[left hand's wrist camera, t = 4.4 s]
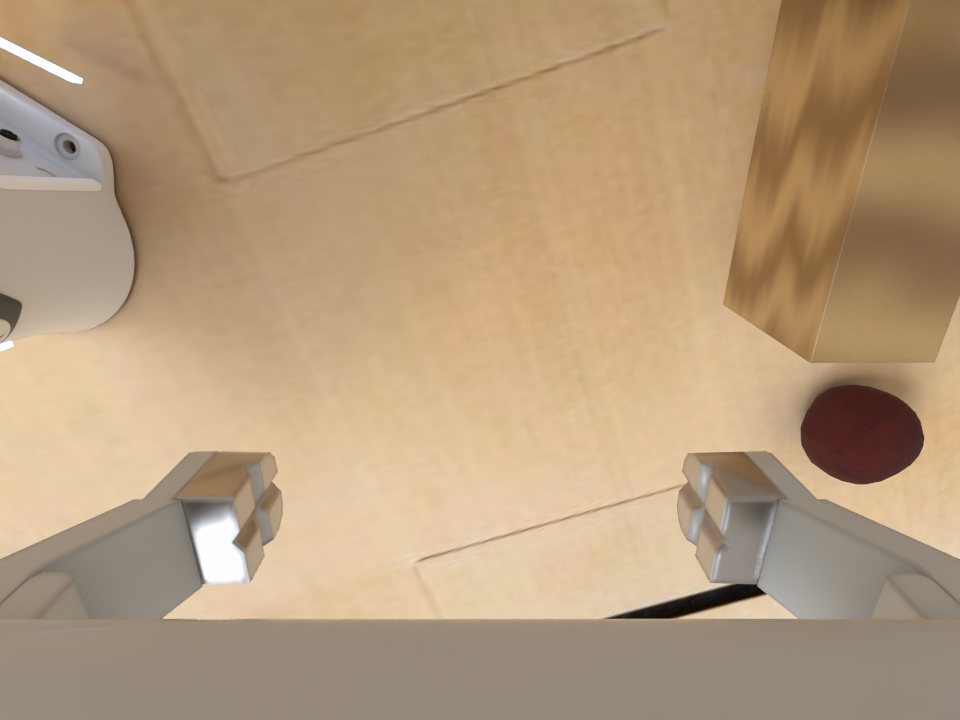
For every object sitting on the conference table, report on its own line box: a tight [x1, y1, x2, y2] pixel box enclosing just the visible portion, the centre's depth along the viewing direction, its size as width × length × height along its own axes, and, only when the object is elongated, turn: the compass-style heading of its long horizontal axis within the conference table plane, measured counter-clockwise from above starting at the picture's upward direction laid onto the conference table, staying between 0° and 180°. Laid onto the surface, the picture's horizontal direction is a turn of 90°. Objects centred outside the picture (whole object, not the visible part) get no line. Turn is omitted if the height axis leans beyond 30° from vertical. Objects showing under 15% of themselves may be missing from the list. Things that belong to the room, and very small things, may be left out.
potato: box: [801, 385, 924, 484], centre depth 40 cm, size 7×8×7 cm
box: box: [723, 0, 960, 363], centre depth 26 cm, size 21×6×10 cm, turn 0°
